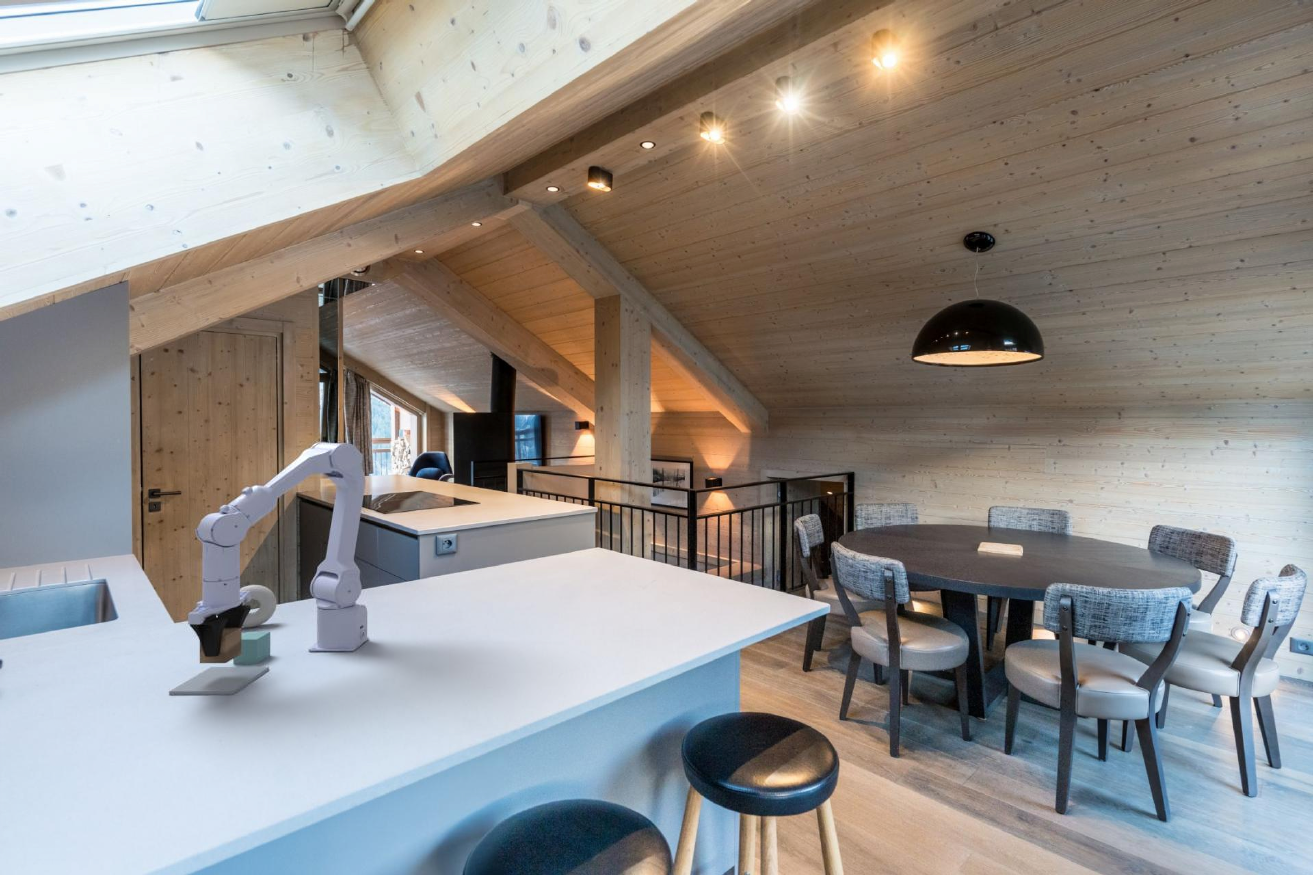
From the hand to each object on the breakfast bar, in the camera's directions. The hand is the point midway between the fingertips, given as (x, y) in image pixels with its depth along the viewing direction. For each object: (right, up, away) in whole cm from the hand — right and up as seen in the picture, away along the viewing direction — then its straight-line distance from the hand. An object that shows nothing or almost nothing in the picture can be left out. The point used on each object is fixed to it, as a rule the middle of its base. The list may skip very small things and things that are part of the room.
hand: (221, 650), depth 116 cm
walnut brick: (0, -1, 0) cm, 1 cm away
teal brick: (-1, -6, +11) cm, 13 cm away
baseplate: (0, -6, 0) cm, 6 cm away
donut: (-14, -5, +31) cm, 34 cm away
